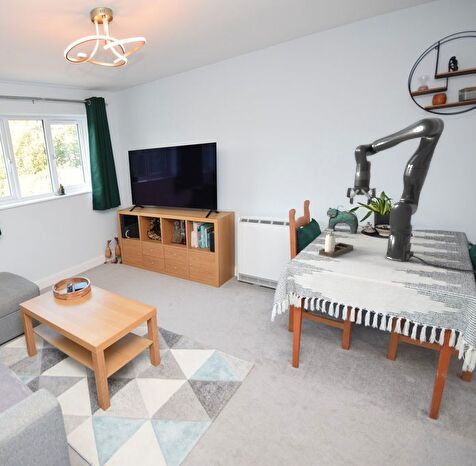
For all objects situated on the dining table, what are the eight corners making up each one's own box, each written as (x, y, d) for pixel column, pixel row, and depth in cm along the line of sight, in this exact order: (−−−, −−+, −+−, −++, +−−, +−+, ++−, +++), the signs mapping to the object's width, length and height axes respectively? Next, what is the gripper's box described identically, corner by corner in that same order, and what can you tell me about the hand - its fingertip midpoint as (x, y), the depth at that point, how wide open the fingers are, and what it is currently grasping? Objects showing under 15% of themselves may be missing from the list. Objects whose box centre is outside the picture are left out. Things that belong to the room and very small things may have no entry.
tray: (353, 249, 194) (353, 245, 194) (332, 258, 184) (332, 253, 184) (339, 246, 201) (339, 242, 200) (318, 254, 191) (319, 250, 190)
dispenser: (335, 254, 189) (338, 229, 184) (331, 255, 186) (333, 230, 182) (327, 252, 193) (329, 227, 189) (322, 253, 191) (324, 229, 187)
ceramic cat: (324, 230, 237) (326, 205, 232) (328, 228, 241) (330, 203, 235) (355, 234, 221) (358, 207, 216) (358, 232, 225) (361, 205, 220)
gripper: (346, 179, 191) (344, 204, 195) (375, 179, 180) (372, 206, 184) (350, 177, 195) (348, 203, 199) (378, 177, 184) (376, 204, 188)
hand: (359, 204), depth 192 cm, fingers open, 8 cm apart
